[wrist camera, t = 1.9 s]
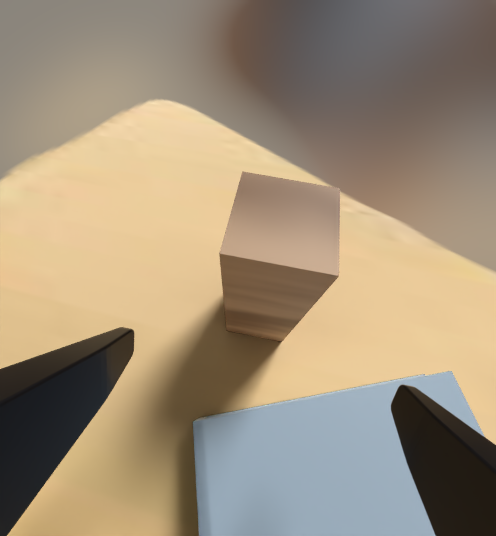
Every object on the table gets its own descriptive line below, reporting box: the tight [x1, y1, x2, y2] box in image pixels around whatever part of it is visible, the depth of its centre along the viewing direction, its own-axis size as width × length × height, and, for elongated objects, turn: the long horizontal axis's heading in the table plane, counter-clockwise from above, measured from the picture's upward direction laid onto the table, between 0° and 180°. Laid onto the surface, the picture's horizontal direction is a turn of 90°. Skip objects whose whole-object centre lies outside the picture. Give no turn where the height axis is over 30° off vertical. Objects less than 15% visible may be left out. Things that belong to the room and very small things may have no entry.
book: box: [193, 371, 484, 536], centre depth 14 cm, size 17×12×3 cm
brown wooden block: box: [219, 172, 340, 342], centre depth 16 cm, size 4×4×12 cm
